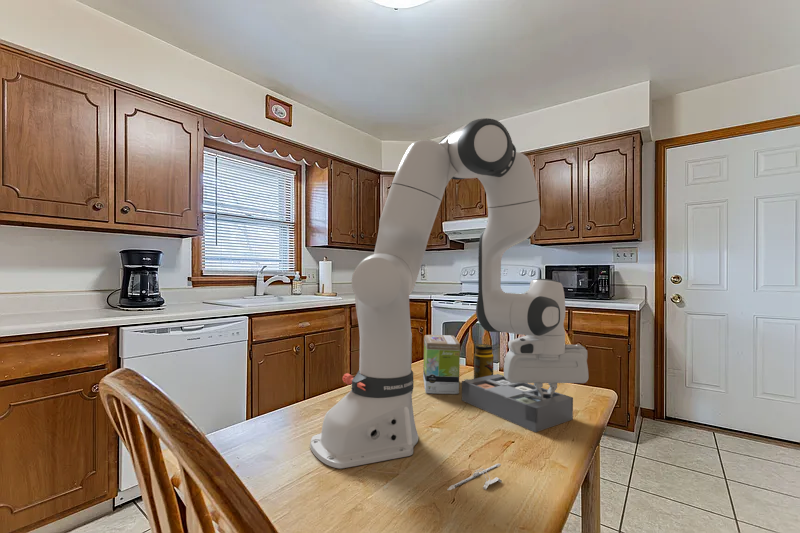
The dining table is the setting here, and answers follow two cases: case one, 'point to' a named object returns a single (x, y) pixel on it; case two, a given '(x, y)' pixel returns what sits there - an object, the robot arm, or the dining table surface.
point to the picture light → (477, 476)
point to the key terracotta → (485, 386)
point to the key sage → (526, 400)
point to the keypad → (518, 403)
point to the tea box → (441, 364)
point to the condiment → (483, 361)
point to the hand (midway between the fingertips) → (545, 400)
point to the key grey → (504, 383)
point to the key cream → (524, 390)
